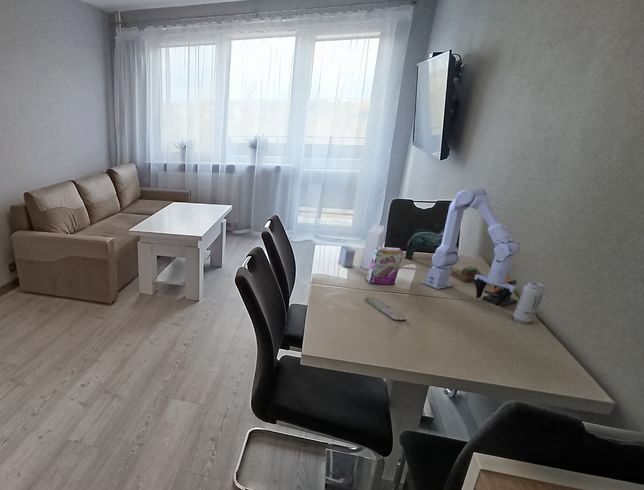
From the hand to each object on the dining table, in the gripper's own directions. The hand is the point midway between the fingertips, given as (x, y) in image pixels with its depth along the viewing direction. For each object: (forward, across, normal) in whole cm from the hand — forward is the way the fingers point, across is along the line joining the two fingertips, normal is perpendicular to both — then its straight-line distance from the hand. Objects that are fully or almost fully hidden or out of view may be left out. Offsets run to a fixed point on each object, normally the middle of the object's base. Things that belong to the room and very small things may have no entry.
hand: (487, 301), depth 170 cm
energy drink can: (+2, -14, +2) cm, 14 cm away
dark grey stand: (+1, 0, -9) cm, 9 cm away
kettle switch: (-4, 0, -5) cm, 7 cm away
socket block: (+1, +21, -23) cm, 31 cm away
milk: (+2, +50, +11) cm, 51 cm away
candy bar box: (+2, +34, +22) cm, 41 cm away
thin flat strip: (+2, +14, +44) cm, 46 cm away
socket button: (-2, +21, -23) cm, 31 cm away
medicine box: (+2, +58, +19) cm, 61 cm away
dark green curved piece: (+2, +45, -25) cm, 51 cm away
